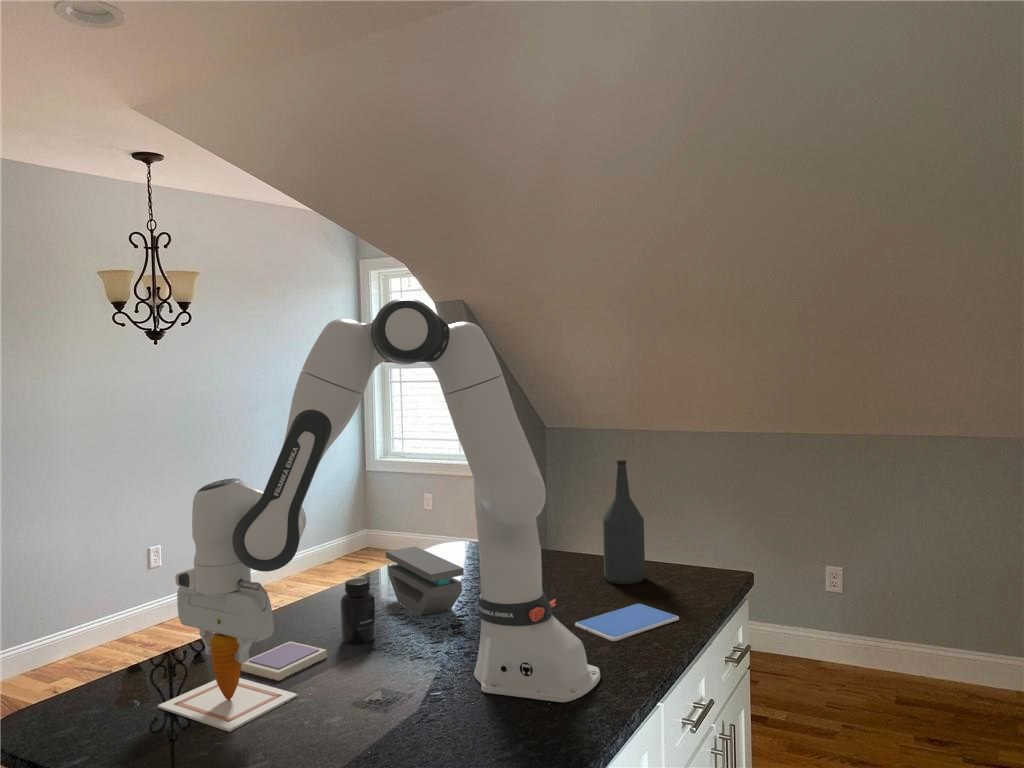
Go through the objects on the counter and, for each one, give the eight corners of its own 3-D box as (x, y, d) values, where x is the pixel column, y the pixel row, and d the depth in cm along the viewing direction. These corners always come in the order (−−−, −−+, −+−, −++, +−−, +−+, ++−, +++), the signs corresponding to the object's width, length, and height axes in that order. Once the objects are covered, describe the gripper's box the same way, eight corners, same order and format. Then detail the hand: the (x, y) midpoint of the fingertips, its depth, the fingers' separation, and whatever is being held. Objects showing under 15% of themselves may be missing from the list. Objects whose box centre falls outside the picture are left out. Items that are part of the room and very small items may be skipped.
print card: (297, 696, 132) (297, 693, 132) (229, 731, 120) (229, 728, 120) (227, 676, 141) (227, 673, 141) (157, 707, 129) (157, 704, 129)
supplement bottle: (368, 646, 154) (365, 586, 153) (336, 645, 155) (333, 585, 155) (380, 634, 160) (378, 577, 160) (350, 633, 162) (347, 576, 161)
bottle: (647, 584, 189) (644, 462, 188) (607, 585, 189) (604, 463, 188) (641, 572, 199) (637, 456, 198) (602, 573, 199) (599, 457, 198)
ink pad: (327, 657, 149) (326, 648, 149) (278, 680, 138) (278, 671, 138) (290, 648, 154) (290, 640, 154) (241, 670, 144) (240, 661, 143)
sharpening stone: (465, 617, 169) (463, 568, 169) (432, 624, 165) (431, 574, 165) (417, 590, 191) (415, 546, 190) (387, 596, 186) (385, 551, 186)
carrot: (226, 708, 127) (221, 618, 126) (206, 702, 129) (202, 614, 129) (250, 697, 131) (246, 609, 130) (231, 691, 134) (227, 605, 133)
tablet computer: (614, 644, 152) (613, 637, 152) (572, 627, 162) (572, 621, 162) (681, 622, 163) (681, 616, 163) (638, 607, 173) (638, 602, 173)
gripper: (281, 578, 127) (284, 662, 127) (200, 565, 138) (204, 642, 138) (249, 589, 122) (254, 676, 122) (168, 574, 132) (172, 654, 133)
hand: (227, 658), depth 130 cm, fingers open, 6 cm apart
